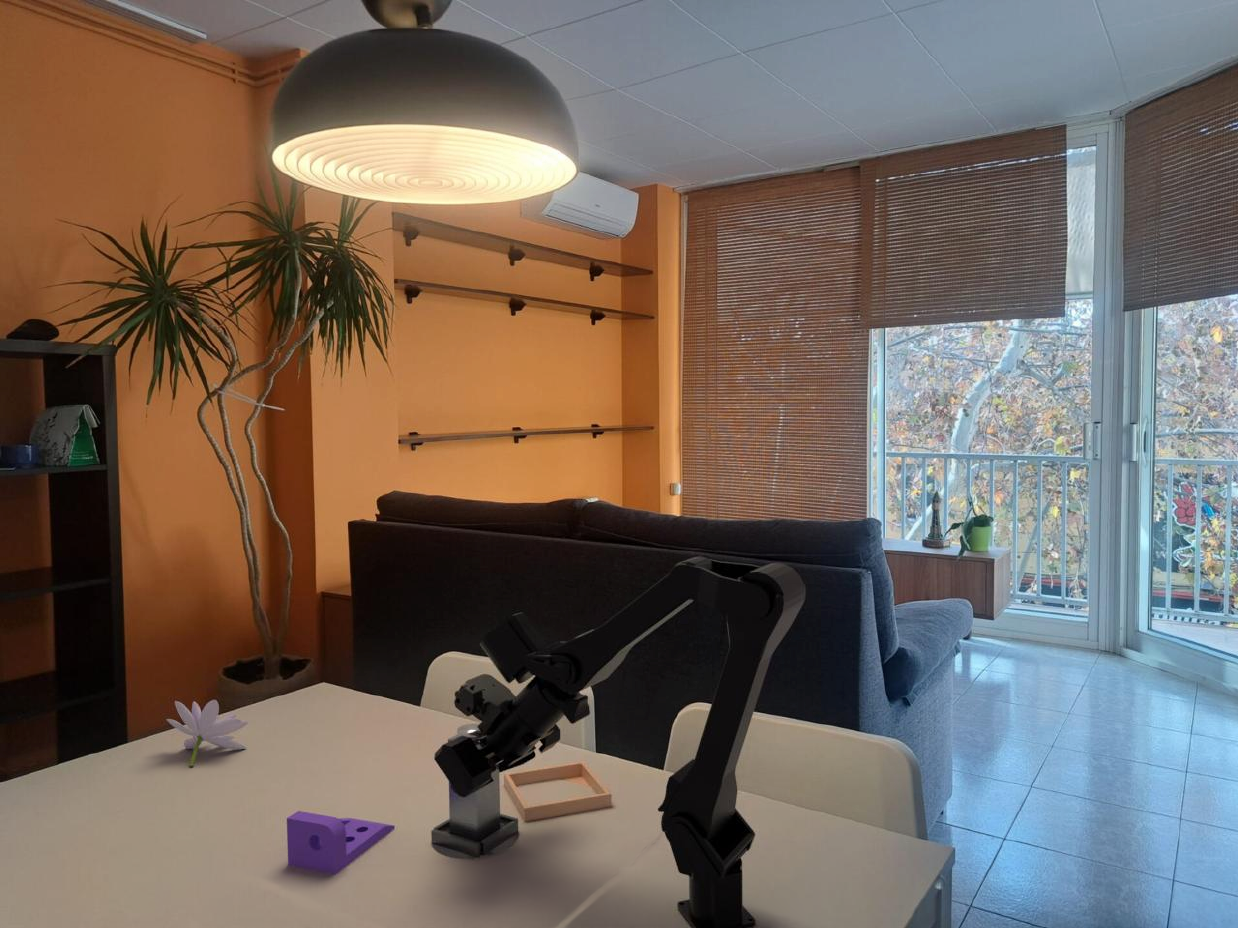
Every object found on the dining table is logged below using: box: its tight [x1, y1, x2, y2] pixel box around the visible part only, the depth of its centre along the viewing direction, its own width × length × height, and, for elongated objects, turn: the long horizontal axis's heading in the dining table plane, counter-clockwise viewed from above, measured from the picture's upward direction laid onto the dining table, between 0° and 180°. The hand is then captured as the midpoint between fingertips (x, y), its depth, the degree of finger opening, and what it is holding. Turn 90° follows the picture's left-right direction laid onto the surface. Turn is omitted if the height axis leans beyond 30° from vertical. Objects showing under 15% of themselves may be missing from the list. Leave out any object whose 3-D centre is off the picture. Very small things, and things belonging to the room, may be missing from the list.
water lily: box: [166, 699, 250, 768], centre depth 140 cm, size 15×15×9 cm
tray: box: [503, 760, 612, 822], centre depth 124 cm, size 12×12×2 cm
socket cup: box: [430, 813, 520, 860], centre depth 112 cm, size 11×11×2 cm
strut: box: [447, 722, 501, 843], centre depth 111 cm, size 4×4×14 cm
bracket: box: [286, 810, 396, 875], centre depth 110 cm, size 12×7×7 cm, turn 160°
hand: (465, 782), depth 112 cm, fingers closed on strut, 4 cm apart
